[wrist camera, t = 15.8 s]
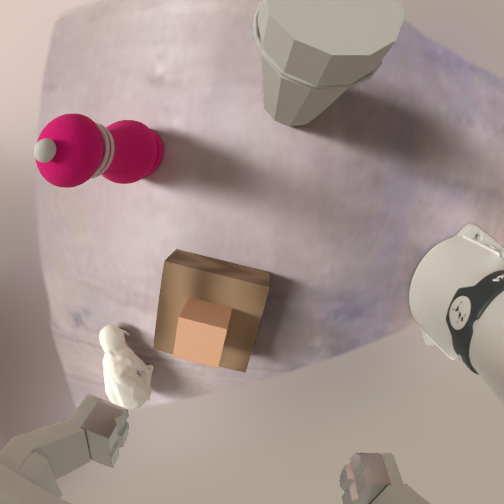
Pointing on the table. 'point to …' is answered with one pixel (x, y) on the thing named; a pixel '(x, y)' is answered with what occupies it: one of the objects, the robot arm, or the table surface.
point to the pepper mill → (96, 151)
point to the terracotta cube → (201, 332)
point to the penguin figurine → (123, 370)
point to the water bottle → (319, 51)
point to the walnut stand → (213, 301)
